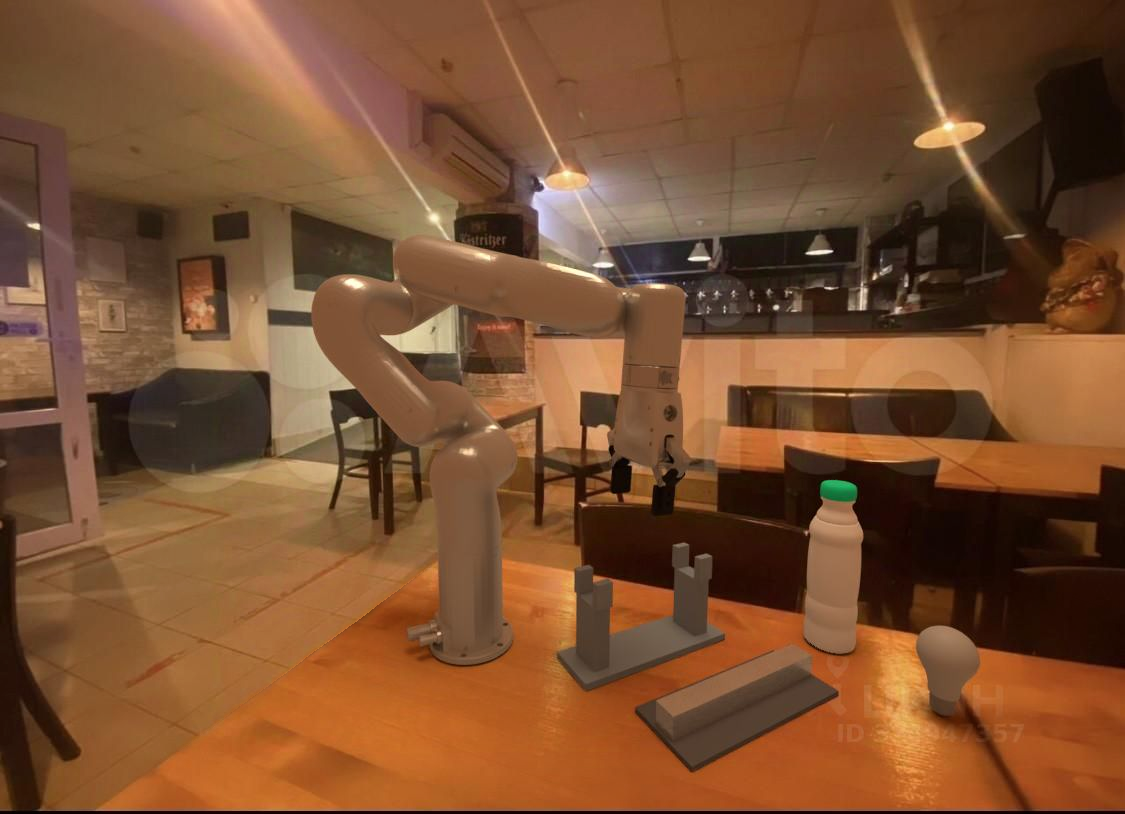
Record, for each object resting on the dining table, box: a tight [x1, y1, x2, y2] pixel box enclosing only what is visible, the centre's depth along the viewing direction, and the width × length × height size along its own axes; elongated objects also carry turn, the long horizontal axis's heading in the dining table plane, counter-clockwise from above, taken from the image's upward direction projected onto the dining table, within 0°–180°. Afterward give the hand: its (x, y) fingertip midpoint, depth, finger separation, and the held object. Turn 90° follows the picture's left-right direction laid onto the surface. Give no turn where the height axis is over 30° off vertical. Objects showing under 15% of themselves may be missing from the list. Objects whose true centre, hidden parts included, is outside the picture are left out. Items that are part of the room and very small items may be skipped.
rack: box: [556, 542, 726, 692], centre depth 73 cm, size 25×8×14 cm, turn 118°
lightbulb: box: [915, 625, 981, 717], centre depth 60 cm, size 6×6×11 cm
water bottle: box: [802, 479, 864, 655], centre depth 74 cm, size 7×7×25 cm
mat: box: [634, 649, 840, 773], centre depth 62 cm, size 25×10×1 cm, turn 118°
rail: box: [656, 643, 813, 741], centre depth 62 cm, size 24×3×3 cm, turn 118°
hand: (639, 503), depth 68 cm, fingers open, 9 cm apart
